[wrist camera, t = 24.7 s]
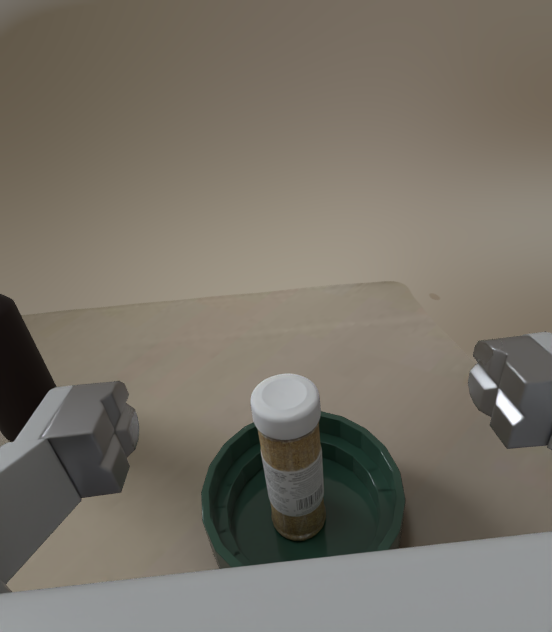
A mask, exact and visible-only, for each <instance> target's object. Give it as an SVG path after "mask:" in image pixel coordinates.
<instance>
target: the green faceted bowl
mask: <svg viewBox="0 0 552 632" xmlns="http://www.w3.org/2000/svg"><path fill="white" fill-rule="evenodd" d="M319 432H320V444H321V448H322V464H323V482H324V496H323V499H324V505H325V510H326V518H325V522H324V525H323V527H322V529H321V530H320V531H319V532H318V533H317V534H316V535H314V536H313V537H312V538H310V539H307V540H304V541H294V540H290V539H287V538H285V537H283V536H282V535H281V534H280V533H279V532H278V531H277V530H276V528H275V527H274V524H273V522H272V517H271V515H272V509H271V503H270V499H269V496H268V490H267V484H266V478H265V473H264V467H263V462H262V456H261V445H260V440H259V434H258V429H257V427H256V426H255V424H254V422H253V423H251V424H249V425H247V426H245V427H244V428H242V429H241V430H240V431H239V432H238V433H236V434H235V435H234V436H233V437H232V438H230V439H229V440H228V441H227V442H226V443H225V444H224V445H223V446H222V448H221V449H220V451H219V452H218V454H217V455H216V457H215V458H214V460H213V461H212V462H211V464H210V466H209V469H208V472H207V475H206V478H205V482H204V485H203V488H202V492H201V497H202V521H203V524H204V527H205V530H206V533H207V536H208V539H209V542H210V546H211V549H212V552H213V555H214V557H215V559H216V562H217V564H218V567H219V569H224V568H233V567H242V566H251V565H260V564H269V563H277V562H286V561H295V560H304V559H313V558H322V557H331V556H339V555H348V554H357V553H366V552H375V551H383V550H392V549H399V546H400V540H401V534H402V525H403V517H404V509H405V495H404V490H403V485H402V480H401V474H400V471H399V469H398V467H397V466H396V464H395V462H394V460H393V459H392V457H391V455H390V453H389V452H388V450H387V448H386V447H385V446H384V445H383V444H382V443H381V442H380V441H379V440H378V439H377V438H376V437H375V436H373V435H372V434H371V433H370V432H369V431H368V430H367V429H365V428H364V427H362V426H360V425H358V424H356V423H354V422H352V421H350V420H348V419H346V418H345V417H342V416H338V415H334V414H330V413H326V412H322V411H321V415H320V419H319Z"/></svg>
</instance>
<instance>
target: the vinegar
mask: <svg viewBox="0 0 552 632" xmlns="http://www.w3.org/2000/svg"><path fill="white" fill-rule="evenodd" d="M55 387H56V385H55V383H54V381H53V379H52V377H51V375H50V373H49V371H48V369H47V367H46V365H45V363H44V361H43V359H42V357H41V355H40V353H39V351H38V349H37V347H36V345H35V343H34V341H33V339H32V337H31V335H30V333H29V331H28V329H27V327H26V325H25V323H24V321H23V319H22V317H21V315H20V313H19V311H18V308H17V306H16V305H15V303H14V301H13V300H12V299H10V298H8V297H6V296H4V295H2V294H0V431H1V433H2V434H3V435H4V436H5V437H6V439H8V440H10V441H15V439H16V438H17V436H18V435H19V433H20V432H21V431H22V429H23V428H24V426H25V425H26V423H27V422H28V420H29V419H30V418H31V416H32V415H33V413H34V412H35V410H36V409H37V407H38V406H39V405H40V403H41V402H42V400H43V399H44V397H45V396H46V394H47V393H48V392H49V390H51V389H53V388H55Z"/></svg>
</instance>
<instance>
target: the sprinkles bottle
mask: <svg viewBox="0 0 552 632" xmlns="http://www.w3.org/2000/svg"><path fill="white" fill-rule="evenodd" d="M251 410H252V416H253V421H254V424H255V426H256V427H257V429H258V434H259V440H260V445H261V456H262V462H263V467H264V473H265V478H266V484H267V490H268V496H269V499H270V503H271V509H272V515H271V517H272V522H273V524H274V527H275V528H276V530H277V531H278V532H279V533H280V534H281V535H282V536H283V537H285V538H287V539H290V540H294V541H304V540H307V539H310V538H312V537H313V536H314V535H316V534H317V533H318V532H319V531H320V530H321V529H322V527H323V525H324V522H325V518H326V510H325V505H324V499H323V496H324V482H323V464H322V448H321V444H320V432H319V419H320V415H321V408H320V397H319V391H318V389H317V387H316V386H315V384H314V383H313V382H312V381H310V380H309V379H307V378H305V377H303V376H300V375H296V374H280V375H275V376H272V377H269V378H267V379H265V380H263V381H262V382H261V383H259V384H258V385H257V386H256V388H255V389H254V391H253V393H252V395H251Z"/></svg>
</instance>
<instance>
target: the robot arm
mask: <svg viewBox="0 0 552 632" xmlns="http://www.w3.org/2000/svg"><path fill="white" fill-rule="evenodd" d="M473 357H474V358H475V359H476V361H477V362H478V363H477V364H476V365H475V366H474V367H473V368H472V369H471V370H470V373H469V379H468V386H469V392H470V396H471V398H472V400H473V402H474V404H475V405H476V407H477V408H478V410H479V411H481V412H483V413H484V414H486V415H488V416H490V417H491V422H490V426H491V428H492V429H493V430H494V432H495V433H496V435H497V436H498V437H499V439H500V440H501V441H502V443H503V444H504V445H505V447H506V448H507V449H511V448H522V447H534V446H546V445H548V446H547V448H549V449H550V450H552V333H549V332H540V333H532V334H525V335H522V336H516V337H507V338H498V339H490V340H481V341H478V342H477V344H476V345H475V348H474V352H473ZM128 396H129V393H128V391H127V388H126V386H125V384H124V383H122V382H120V381H114V382H103V383H92V384H82V385H76V386H75V385H72V386H63V387H55V388H53V389H51V390H49V392H48V393H47V394H46V396H45V397H44V399H43V400H42V402H41V403H40V405H39V406H38V407H37V409H36V410H35V412H34V413H33V415H32V416H31V418H30V419H29V420H28V422H27V423H26V425H25V426H24V428H23V429H22V431H21V432H20V433H19V435H18V436H17V438H16V439H15V441H14V442H11V443H5V444H4V445H2V446H1V447H0V632H552V531H551V532H542V533H533V534H525V535H516V536H507V537H498V538H489V539H480V540H472V541H463V542H454V543H445V544H436V545H427V546H419V547H410V548H401V549H392V550H383V551H375V552H366V553H357V554H348V555H339V556H331V557H322V558H313V559H304V560H295V561H286V562H277V563H269V564H260V565H251V566H242V567H233V568H224V569H215V570H206V571H197V572H188V573H179V574H170V575H161V576H152V577H143V578H134V579H126V580H117V581H108V582H99V583H90V584H81V585H72V586H64V587H55V588H46V589H37V590H28V591H19V592H12V591H11V590H10V589H9V588H8V587H7V586H6V584H7V582H8V581H9V580H10V579H11V578H12V577H13V576H14V575H15V574H16V572H17V571H18V570H19V569H20V568H21V567H22V566H23V565H24V564H25V562H26V561H27V560H28V559H29V558H30V557H31V556H32V555H33V554H34V553H35V551H36V550H37V549H38V548H39V547H40V546H41V545H42V544H43V543H44V541H45V540H46V539H47V538H48V537H49V536H50V535H51V534H52V533H53V531H54V530H55V529H56V528H57V527H58V526H59V525H60V524H61V523H62V521H63V520H64V519H65V518H66V517H67V516H68V515H69V514H70V513H71V512H72V510H73V509H74V508H75V507H76V506H77V505H78V504H79V503H80V502H81V500H82V499H81V498H85V497H92V496H99V495H106V494H113V493H120V492H121V491H122V488H123V485H124V482H125V479H126V476H127V473H128V470H129V467H130V465H129V463H128V461H127V457H128V456H129V455H130V454H131V453H132V452H133V451H134V450H135V449H136V445H137V442H138V437H139V422H138V417H137V414H136V411H135V409H134V408H133V407H131V406H130V405H128V404H127V403H126V401H127V399H128Z"/></svg>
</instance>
